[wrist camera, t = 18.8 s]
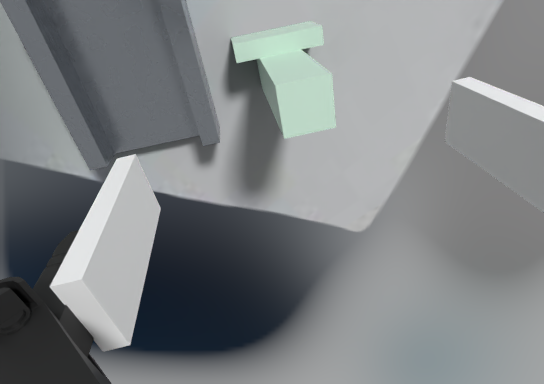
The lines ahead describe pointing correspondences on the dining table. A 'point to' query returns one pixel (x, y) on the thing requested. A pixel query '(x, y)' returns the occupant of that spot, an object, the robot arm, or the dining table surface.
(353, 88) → the dining table surface
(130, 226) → the robot arm
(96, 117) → the slot rail
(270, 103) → the mint t-shaped block
